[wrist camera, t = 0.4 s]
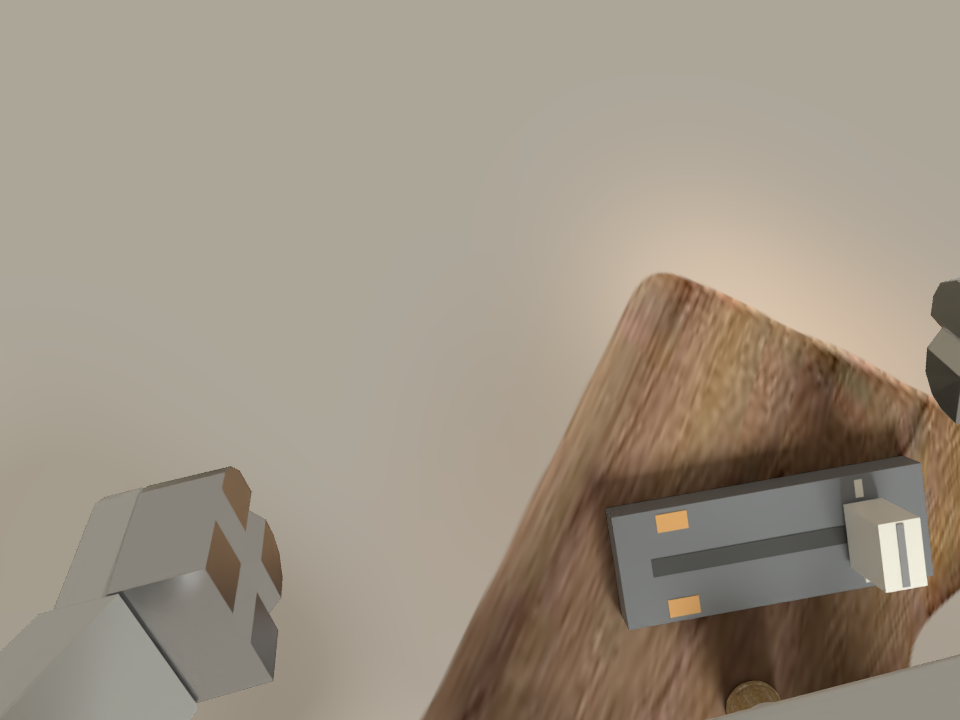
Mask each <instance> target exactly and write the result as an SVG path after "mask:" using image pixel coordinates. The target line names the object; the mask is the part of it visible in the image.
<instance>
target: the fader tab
mask: <svg viewBox="0 0 960 720" xmlns="http://www.w3.org/2000/svg"><path fill="white" fill-rule="evenodd" d="M843 507H844V515H845V523H846V531H847V539H848V548H849V556H850V564H851V568H853V569H854V570H855V571H857V572H858V573H859V574H861V575H862V576H863V577H865V578H866V579H868V580H869V581H870V582H872V583H873V584H874V585H876V586H877V587H878V588H880V589H881V590H883V591H884V592H885V593H889V592H894V591H900V590H905V589H911V588H917V587H922V586H928V585H927V576H926V567H925V558H924V549H923V540H922V531H921V522H920V517H918V516H916V515H914V514H912V513H910V512H908V511H907V510H905V509H903V508H901V507H899V506H897V505H895V504H893V503H891V502H889V501H887V500H885V499H883V498H877V499H872V500H866V501H861V502H855V503H849V504H844V505H843Z"/></svg>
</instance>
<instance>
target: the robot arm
mask: <svg viewBox="0 0 960 720" xmlns="http://www.w3.org/2000/svg"><path fill="white" fill-rule="evenodd" d="M931 316H932V317H933V318H934V319H935V320H936V321H937V323H938V324H939V325H940V326H941V327H942V329H941V330H940V331H939V333H938V334H937V335H936V337H935V338H934V339H933V341H932V342H931V343H930V345H929V346H928V347H927V357H926V375H927V378H928V382H929V385H930V389H931V392H932V395H933V396H934V398H935V400H936V401H937V403H938V404H939V406H940V408H941V409H942V410H943V411H944V412H945V413H946V414H947V415H948V416H949V417H950V418H951V419H952V420H953V421H954V422H955V423H956V424H959V425H960V278H956V279H953V280H949V281H945V282H942V283H940V285H939V287H938V288H937V290H936V292H935V294H934V296H933V303H932V310H931ZM250 498H251V490H250V488H249V487H248V485H247V483H246V481H245V479H244V478H243V476H242V474H241V473H240V471H239V470H237V469H235V468H233V467H231V466H230V467H226V468H222V469H218V470H213V471H209V472H205V473H201V474H197V475H192V476H188V477H184V478H180V479H176V480H171V481H167V482H163V483H159V484H155V485H150V486H147V487H146V488H139V489H135V490H131V491H127V492H123V493H119V494H115V495H111V496H107V497H104V498H103V499H102V500H100V501H99V502H97V503H96V504H95V506H94V508H93V510H92V513H91V515H90V518H89V521H88V523H87V526H86V528H85V531H84V533H83V536H82V539H81V541H80V544H79V546H78V549H77V551H76V554H75V556H74V559H73V562H72V564H71V567H70V569H69V572H68V574H67V577H66V580H65V582H64V585H63V587H62V590H61V592H60V595H59V597H58V600H57V602H56V605H55V608H54V610H53V611H49V612H45V613H42V614H39V615H38V616H37V617H36V618H35V619H34V620H33V621H32V622H31V623H30V624H29V625H27V626H26V627H25V628H24V629H23V630H22V631H21V632H20V633H19V634H18V635H17V636H16V637H15V638H14V639H13V640H12V641H11V642H10V643H9V644H8V645H7V646H6V647H5V648H4V649H3V650H1V652H0V720H191V718H192V717H193V715H194V714H195V712H196V710H197V709H198V705H197V704H196V703H199V702H202V701H205V700H209V699H212V698H216V697H220V696H223V695H226V694H230V693H234V692H237V691H240V690H244V689H248V688H251V687H254V686H258V685H261V684H265V683H268V682H272V681H273V677H274V667H275V657H276V647H277V636H278V629H277V627H276V626H275V624H274V622H273V620H272V618H271V617H270V615H269V613H270V612H271V610H272V609H273V608H274V606H275V605H276V604H277V603H278V601H279V600H280V599H281V591H282V570H281V563H280V555H279V551H278V548H277V545H276V541H275V538H274V535H273V533H272V531H271V529H270V527H269V525H268V523H267V521H266V519H264V518H262V517H260V516H258V515H256V514H254V513H253V512H251V511H249V505H250ZM707 720H960V654H959V655H955V656H952V657H948V658H944V659H940V660H936V661H932V662H928V663H924V664H921V665H917V666H913V667H909V668H905V669H901V670H897V671H893V672H890V673H886V674H882V675H878V676H874V677H870V678H866V679H862V680H859V681H855V682H851V683H847V684H843V685H839V686H835V687H831V688H828V689H824V690H820V691H816V692H812V693H808V694H804V695H800V696H797V697H793V698H789V699H785V700H781V701H777V702H773V703H769V704H766V705H762V706H758V707H754V708H750V709H746V710H742V711H738V712H735V713H731V714H727V715H723V716H719V717H715V718H711V719H707Z"/></svg>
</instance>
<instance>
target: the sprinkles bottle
mask: <svg viewBox="0 0 960 720" xmlns="http://www.w3.org/2000/svg"><path fill="white" fill-rule="evenodd" d="M777 701H781V699H780V696H779V695H778V693H777V692H776V690H775V689H773V688H772V687H771V686H770V685H768V684H767V683H764V682H762V681H748V682H746V683H742V684H740V685H739V686H738V687H736V688H735V689H734V690H733V691H732V693H731V694H730V696H729V698H728V700H727V706H726V712H727V714H731V713H735V712H738V711H742V710H746V709H750V708H754V707H758V706H762V705H766V704H769V703H773V702H777Z"/></svg>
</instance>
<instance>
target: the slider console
mask: <svg viewBox="0 0 960 720" xmlns="http://www.w3.org/2000/svg"><path fill="white" fill-rule="evenodd" d="M877 498H883V499H885V500H887V501H889V502H891V503H893V504H895V505H897V506H899V507H901V508H903V509H905V510H907V511H908V512H910V513H912V514H914V515H916V516H918V517H920V522H921V531H922V540H923V549H924V558H925V567H926V576H932V575H933V567H932V558H931V549H930V540H929V531H928V522H927V513H926V504H925V495H924V486H923V477H922V468H921V463H920V462H917V461H915V460H912V459H910V458H907V457H905V456H898V457H893V458H887V459H881V460H876V461H870V462H864V463H859V464H853V465H847V466H842V467H836V468H830V469H825V470H819V471H813V472H808V473H802V474H796V475H791V476H785V477H780V478H774V479H768V480H763V481H757V482H751V483H746V484H740V485H734V486H729V487H723V488H717V489H712V490H706V491H700V492H695V493H689V494H683V495H678V496H672V497H666V498H661V499H655V500H650V501H644V502H638V503H633V504H627V505H621V506H616V507H610V508H605V511H606V517H607V523H608V530H609V536H610V543H611V549H612V555H613V562H614V568H615V574H616V581H617V587H618V594H619V600H620V606H621V613H622V617H623V619H624V621H625V623H626V625H627V627H628V629H629V630H632V629H638V628H643V627H649V626H654V625H660V624H666V623H671V622H677V621H682V620H688V619H693V618H699V617H704V616H710V615H716V614H721V613H727V612H732V611H738V610H743V609H749V608H755V607H760V606H766V605H771V604H777V603H782V602H788V601H793V600H799V599H805V598H810V597H816V596H821V595H827V594H832V593H838V592H843V591H849V590H855V589H860V588H866V587H871V586H876V585H874V584H873V583H872V582H870V581H869V580H868V579H866V578H865V577H863V576H862V575H861V574H859V573H858V572H857V571H855V570H854V569H853V568H851V564H850V556H849V548H848V539H847V531H846V523H845V515H844V507H843V505H844V504H849V503H855V502H861V501H866V500H872V499H877Z"/></svg>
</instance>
